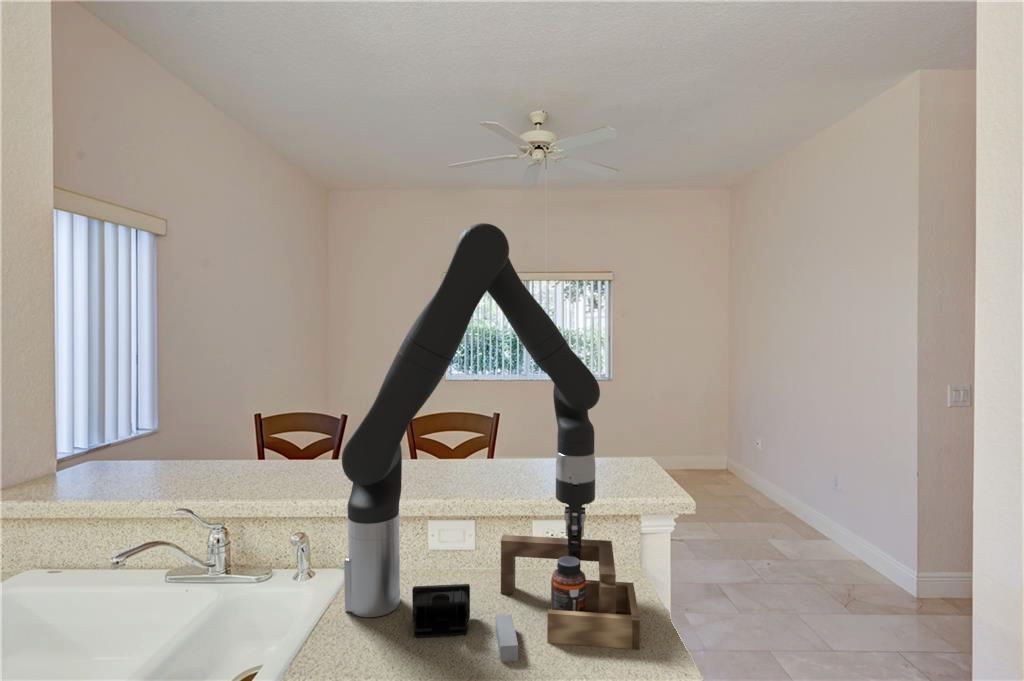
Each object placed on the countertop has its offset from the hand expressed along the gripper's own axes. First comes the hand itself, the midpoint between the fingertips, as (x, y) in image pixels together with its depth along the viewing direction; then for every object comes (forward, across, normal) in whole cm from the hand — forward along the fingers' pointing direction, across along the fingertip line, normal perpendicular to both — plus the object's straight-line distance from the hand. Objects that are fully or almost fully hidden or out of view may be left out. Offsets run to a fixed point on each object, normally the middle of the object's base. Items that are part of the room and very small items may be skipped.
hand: (574, 562), depth 109 cm
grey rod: (+7, +18, -11) cm, 22 cm away
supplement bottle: (+7, +10, -1) cm, 12 cm away
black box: (+7, +14, -23) cm, 27 cm away
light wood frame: (+6, +10, +4) cm, 12 cm away
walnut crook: (+6, +6, -4) cm, 10 cm away
